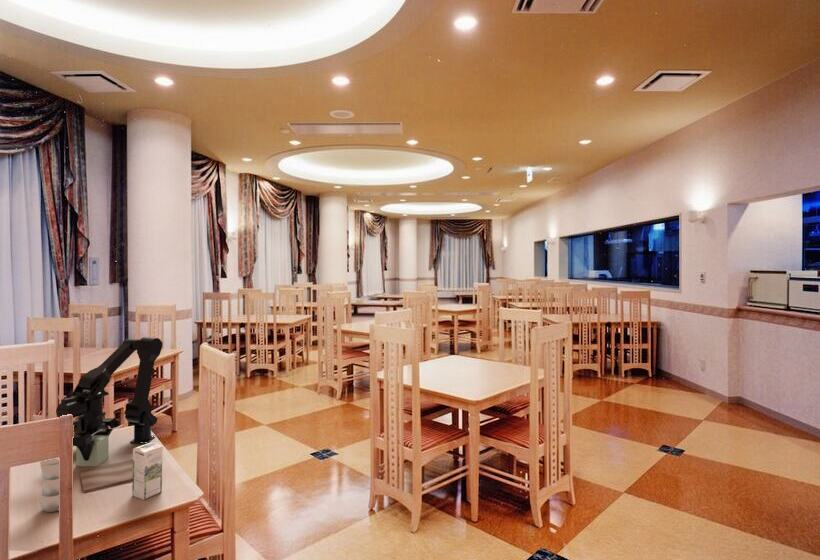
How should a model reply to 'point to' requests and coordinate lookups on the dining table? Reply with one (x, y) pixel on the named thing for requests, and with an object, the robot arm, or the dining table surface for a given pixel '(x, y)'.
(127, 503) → the dining table surface
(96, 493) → the dining table surface
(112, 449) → the dining table surface
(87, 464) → the mint green cube
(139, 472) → the syrup box
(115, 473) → the walnut board
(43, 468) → the plastic bottle
